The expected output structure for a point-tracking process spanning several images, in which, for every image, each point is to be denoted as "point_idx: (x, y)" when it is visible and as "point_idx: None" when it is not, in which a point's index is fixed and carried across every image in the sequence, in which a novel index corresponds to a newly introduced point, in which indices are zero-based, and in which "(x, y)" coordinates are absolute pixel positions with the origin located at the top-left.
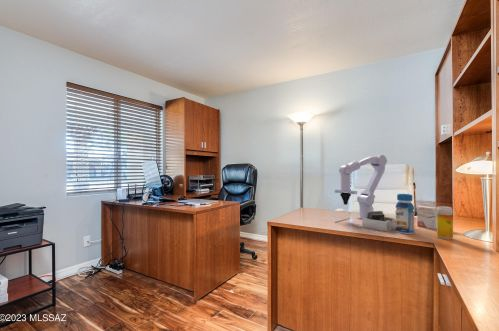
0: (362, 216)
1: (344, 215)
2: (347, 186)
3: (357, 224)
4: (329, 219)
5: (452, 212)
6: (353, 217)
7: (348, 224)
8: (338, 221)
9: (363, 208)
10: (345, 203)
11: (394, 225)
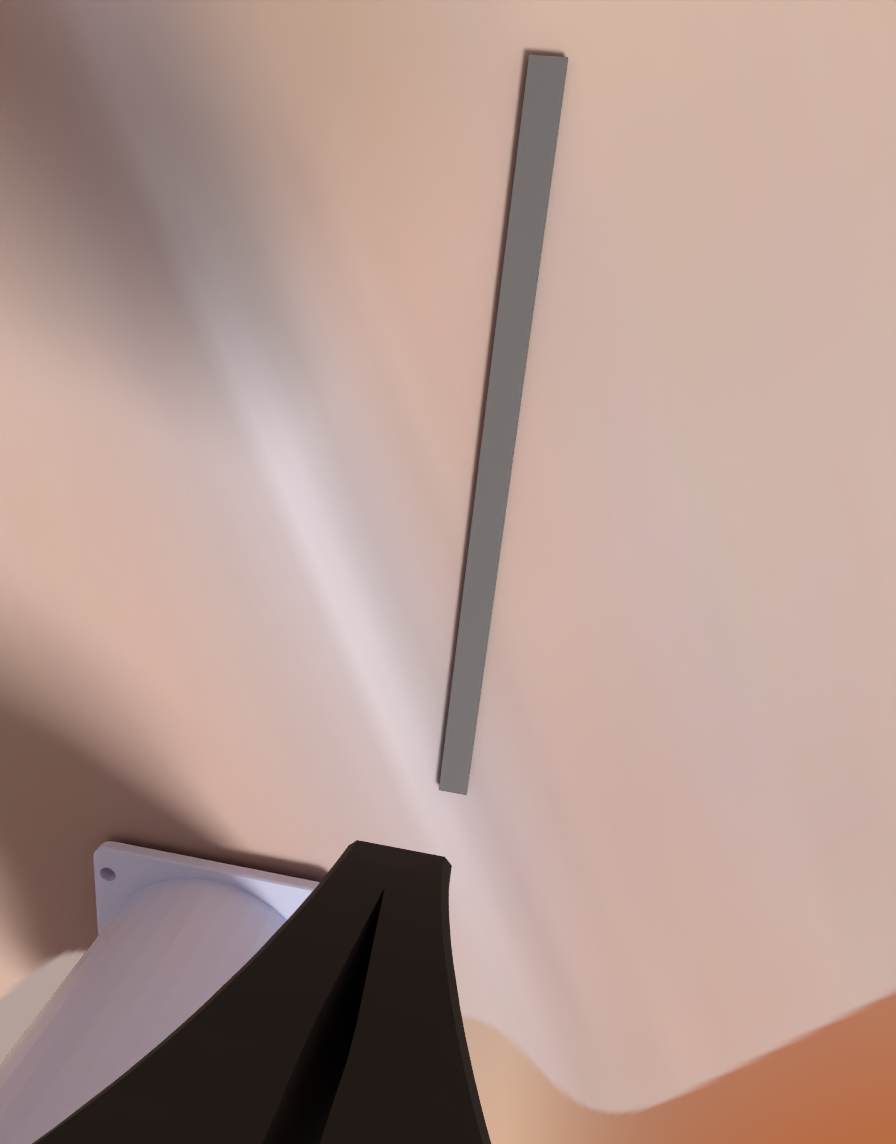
0: (204, 911)
1: (665, 1031)
2: None
3: (57, 285)
4: (832, 361)
5: None
6: None
7: (188, 106)
8: (509, 234)
9: (68, 1086)
10: (343, 868)
11: None
